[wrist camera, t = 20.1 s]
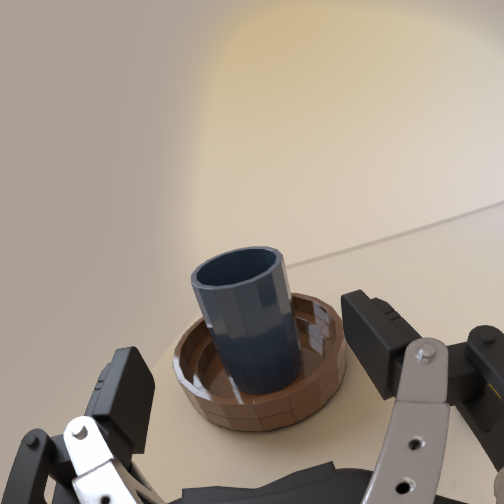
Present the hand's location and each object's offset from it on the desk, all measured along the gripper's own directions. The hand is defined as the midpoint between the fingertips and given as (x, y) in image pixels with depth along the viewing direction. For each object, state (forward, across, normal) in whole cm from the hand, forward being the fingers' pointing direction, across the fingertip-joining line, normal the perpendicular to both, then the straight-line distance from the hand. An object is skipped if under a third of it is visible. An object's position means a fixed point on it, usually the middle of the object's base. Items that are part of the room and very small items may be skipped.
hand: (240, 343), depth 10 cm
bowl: (+11, 0, +12) cm, 16 cm away
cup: (+11, 0, +11) cm, 15 cm away
